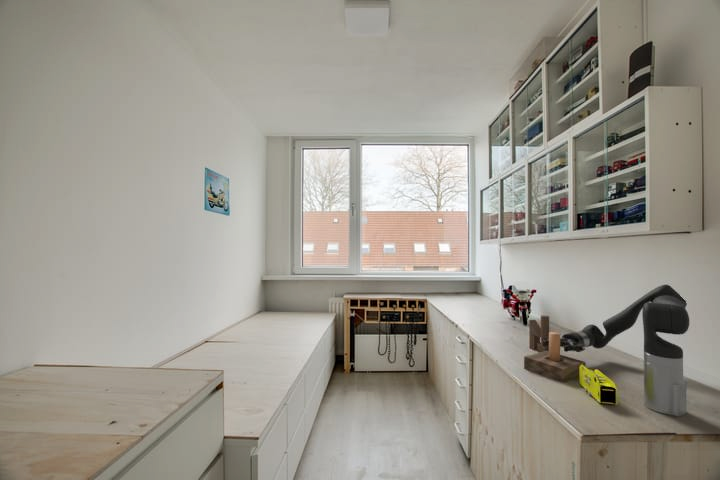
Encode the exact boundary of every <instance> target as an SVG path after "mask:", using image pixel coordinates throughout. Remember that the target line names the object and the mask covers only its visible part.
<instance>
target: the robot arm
mask: <svg viewBox="0 0 720 480" xmlns="http://www.w3.org/2000/svg"><path fill="white" fill-rule="evenodd" d="M681 296H682V295H681ZM681 296H680V293H679V292H678V291H676V289H674V288H673V287H672V286H671V285H669V284H661V285H659V286H656V287H655V288H654V289H652V290H650V291H648V292H647V293H645V294H644V295H642V296H641V297H640V298H639V299H636V301H633V302H632V303H631V304H630V305H628V306H627V307H626V308H624V309H623V310H621V311H619V312H618V313H617V314H615V315H613V316H612V317H609V318H607V319H606V320H603V322H602V326H603V328H604V330H605V334H604V333H603V332H602V331H601V329H600V328H599V327H598V326H597V325H595V324H588V325H586V326H584V327H583V329H582V330H579V331H570V332H568V333H564V334H563V335H562V336H560V348H563V351H564V352H565V353H567V352H576V353H581V352H583V351H586V348H588V347H593V348H594V349H603V348H604V347H606V346H607V345H608V344H610V343H609V342H611V341H612V340H613V339H614V338H615V337H617V336H618V335H620V334H621V333H623V332H625V331H628V330H629V329H630V328H632V327H634V325H635V323H636V322H637V320H638V317H639V316H640V313H641V312H642V314H641V316H642V325H643V326H642V327H643V328H642V329H643V391H644V393H643V399H644V401H643V402H644V405H645V406H646V407H647V408H648V409H650V410H652V411H655V412H658V413H661V414H665V415H668V416H673V417H677V418H680V417H681V416H683V415H685V414H686V413H687V382H686V381H685V380H684V350H683V348H682V347H681V346H679V345H677V344H675V343H672V342H670V341H667V340H666V339H664V338H662V337H661V336H659V335H658V334H657V333H661V334H663V333H664V334H670V335H679V336H680V335H684V334H686V332H687V331H688V330H689V328H690V316H689V313H688V311H687V309H686V307H687V305H688V303H686V302H687V301H686V299H685V298H684V297H683V296H682V297H683V298H684V299H685V300H684V299H683V298H682V297H681ZM543 346H549V337H545V338H544V341H543Z"/></svg>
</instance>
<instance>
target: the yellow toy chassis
mask: <svg viewBox="0 0 720 480" xmlns="http://www.w3.org/2000/svg"><path fill="white" fill-rule="evenodd" d="M579 372H580V377H579V385H581V386H582V387H583V388H584V392H587V395H589V396H592V397H593V398H594V399H595V400H596V401H597V402H598V403H599V404H600V403H601V404H604V405H614V404H615V405H616V406H617V405H618V389H617V386H616V384H615V382H613V380H611V379H610V378H609V377H608V376H606V375H605V374H604V373H603V372H601V371H600V370H599V369H594V370H593V369H588V368H587V366H586V367H585V366H583V365H582V364H581V366H580V367H579Z"/></svg>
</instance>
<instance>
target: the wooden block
mask: <svg viewBox="0 0 720 480" xmlns="http://www.w3.org/2000/svg"><path fill="white" fill-rule="evenodd" d="M528 329H529V345H528V346H529V348H530V349H532V350H534V351H537V352H538V353H540V352H544V351H549V346H543V341H544V338H545V337H549V333H550V316H549V315H548V314H547V315H545V314H541V315H540V325H539V323H538V322H537V320H536V319H529V328H528Z"/></svg>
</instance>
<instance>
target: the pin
mask: <svg viewBox="0 0 720 480" xmlns="http://www.w3.org/2000/svg"><path fill="white" fill-rule="evenodd" d="M560 337H561V333H559V332H553V331H551V332H550V331H549V360H551V361H554V362H560V355H561V347H560Z"/></svg>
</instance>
